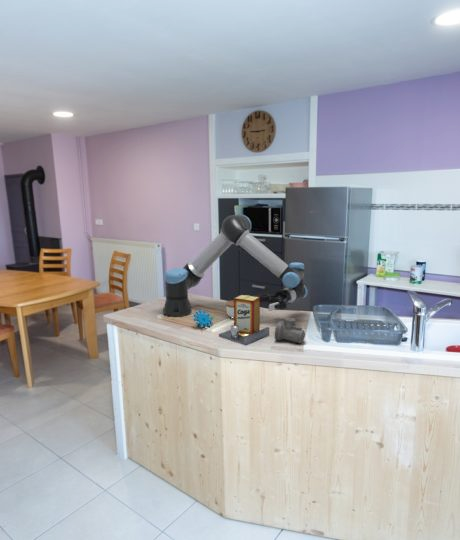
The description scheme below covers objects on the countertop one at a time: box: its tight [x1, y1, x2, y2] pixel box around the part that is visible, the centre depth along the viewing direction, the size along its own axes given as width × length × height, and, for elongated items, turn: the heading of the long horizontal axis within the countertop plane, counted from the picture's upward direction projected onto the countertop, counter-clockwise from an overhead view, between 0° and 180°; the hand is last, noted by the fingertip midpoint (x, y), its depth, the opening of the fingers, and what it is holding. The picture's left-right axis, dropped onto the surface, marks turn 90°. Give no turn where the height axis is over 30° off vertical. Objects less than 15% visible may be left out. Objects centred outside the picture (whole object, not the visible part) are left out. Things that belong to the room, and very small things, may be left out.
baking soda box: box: [233, 294, 261, 335], centre depth 173 cm, size 10×6×16 cm
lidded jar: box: [225, 299, 234, 318], centre depth 199 cm, size 11×11×9 cm
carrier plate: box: [218, 324, 270, 346], centre depth 172 cm, size 16×16×6 cm
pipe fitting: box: [274, 316, 306, 344], centre depth 165 cm, size 12×8×10 cm
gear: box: [193, 309, 215, 329], centre depth 187 cm, size 11×6×10 cm
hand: (257, 305), depth 177 cm, fingers open, 13 cm apart
